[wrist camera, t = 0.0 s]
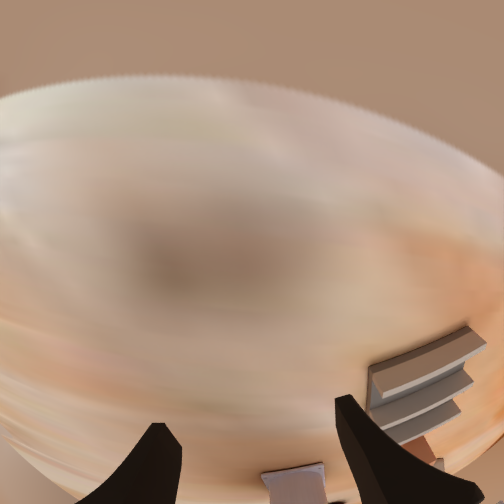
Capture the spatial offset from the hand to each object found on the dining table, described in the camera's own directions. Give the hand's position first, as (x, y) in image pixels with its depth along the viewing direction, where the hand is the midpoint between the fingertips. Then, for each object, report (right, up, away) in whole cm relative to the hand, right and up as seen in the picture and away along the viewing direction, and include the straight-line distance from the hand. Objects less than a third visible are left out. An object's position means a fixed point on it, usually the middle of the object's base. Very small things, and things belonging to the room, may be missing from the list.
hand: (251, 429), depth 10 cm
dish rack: (+17, -7, +13) cm, 23 cm away
